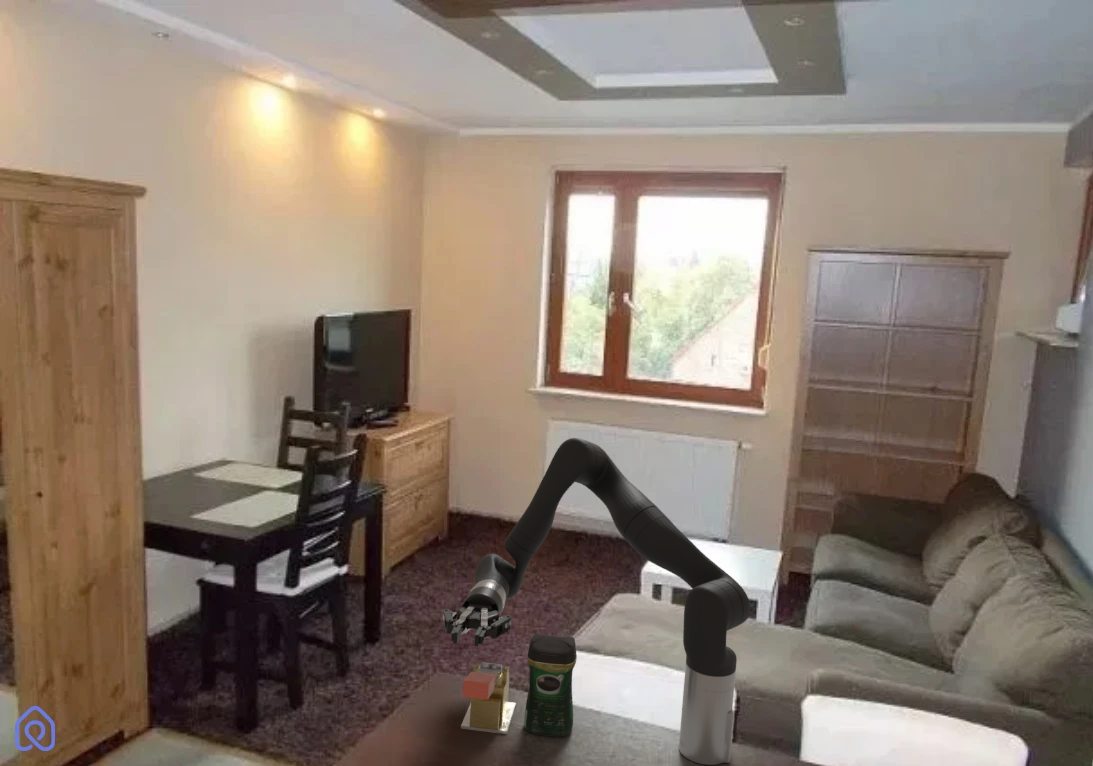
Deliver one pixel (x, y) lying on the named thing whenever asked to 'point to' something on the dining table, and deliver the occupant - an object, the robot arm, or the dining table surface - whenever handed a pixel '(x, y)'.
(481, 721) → the gold lever base
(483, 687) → the lever
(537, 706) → the coffee jar
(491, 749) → the dining table surface
